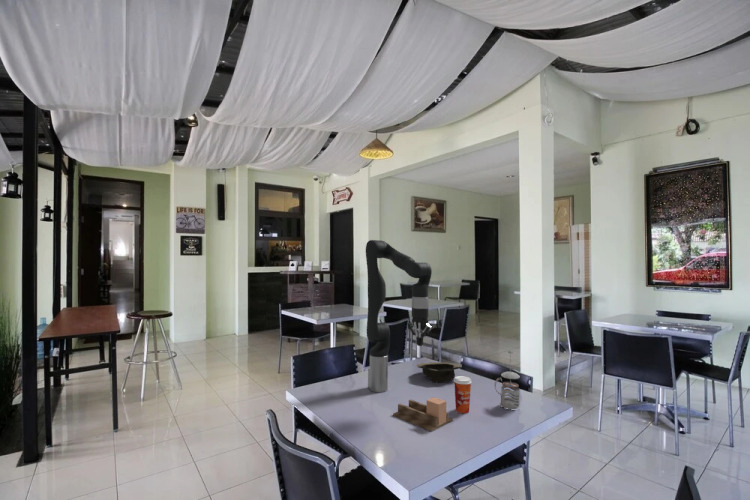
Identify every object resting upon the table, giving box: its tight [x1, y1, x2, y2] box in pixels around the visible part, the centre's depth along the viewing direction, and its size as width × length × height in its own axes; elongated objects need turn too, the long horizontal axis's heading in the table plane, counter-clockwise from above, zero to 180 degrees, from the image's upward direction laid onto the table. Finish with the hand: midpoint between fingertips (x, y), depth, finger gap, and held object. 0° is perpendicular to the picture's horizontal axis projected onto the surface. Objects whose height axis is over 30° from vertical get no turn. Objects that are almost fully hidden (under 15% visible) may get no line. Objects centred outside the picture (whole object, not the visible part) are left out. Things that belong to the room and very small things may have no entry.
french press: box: [494, 349, 521, 409], centre depth 169 cm, size 10×12×25 cm
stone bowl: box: [416, 361, 463, 384], centre depth 209 cm, size 25×25×9 cm
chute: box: [392, 399, 454, 432], centre depth 155 cm, size 20×14×4 cm
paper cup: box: [453, 375, 472, 414], centre depth 163 cm, size 8×8×14 cm
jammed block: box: [426, 397, 447, 425], centre depth 150 cm, size 6×5×8 cm
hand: (419, 345), depth 168 cm, fingers closed
